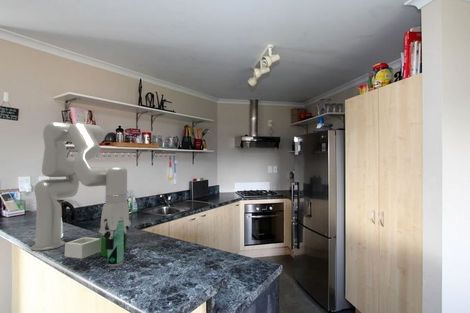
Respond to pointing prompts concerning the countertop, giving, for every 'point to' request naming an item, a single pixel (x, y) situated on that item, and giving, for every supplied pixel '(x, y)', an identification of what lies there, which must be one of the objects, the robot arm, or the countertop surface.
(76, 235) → the countertop surface
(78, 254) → the square frame
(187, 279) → the countertop surface
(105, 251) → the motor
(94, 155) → the robot arm
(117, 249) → the spray can
